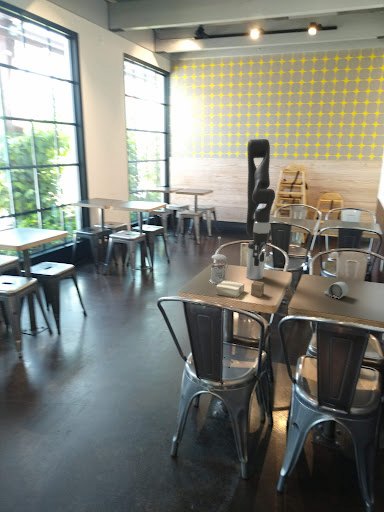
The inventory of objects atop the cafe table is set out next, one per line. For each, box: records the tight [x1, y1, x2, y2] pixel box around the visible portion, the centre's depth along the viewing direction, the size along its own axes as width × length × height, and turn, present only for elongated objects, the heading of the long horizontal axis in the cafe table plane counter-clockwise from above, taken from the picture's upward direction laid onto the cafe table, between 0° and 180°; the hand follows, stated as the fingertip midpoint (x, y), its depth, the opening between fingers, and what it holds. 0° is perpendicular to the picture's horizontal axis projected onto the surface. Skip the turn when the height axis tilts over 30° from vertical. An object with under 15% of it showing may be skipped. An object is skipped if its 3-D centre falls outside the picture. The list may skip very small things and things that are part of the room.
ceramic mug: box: [324, 281, 349, 300], centre depth 189 cm, size 11×8×8 cm
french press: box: [208, 236, 229, 285], centre depth 206 cm, size 10×12×25 cm
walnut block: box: [250, 280, 265, 298], centre depth 189 cm, size 5×5×6 cm
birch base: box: [215, 279, 245, 298], centre depth 192 cm, size 11×11×4 cm
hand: (259, 263), depth 186 cm, fingers open, 8 cm apart
